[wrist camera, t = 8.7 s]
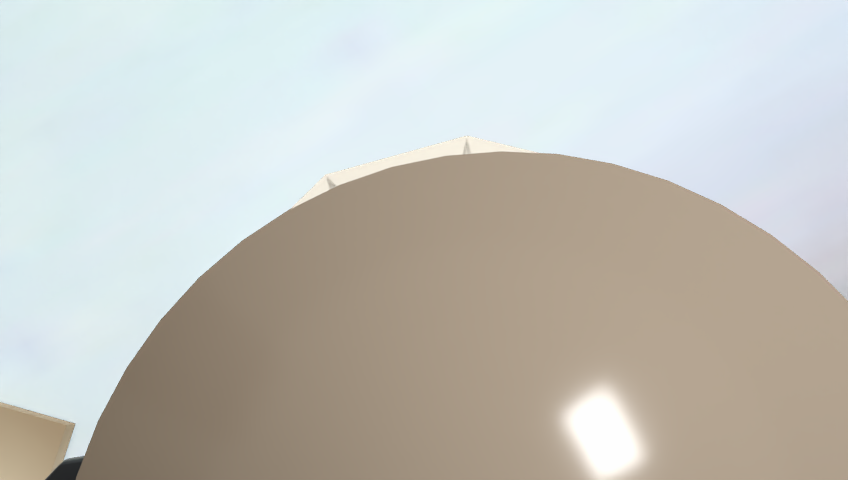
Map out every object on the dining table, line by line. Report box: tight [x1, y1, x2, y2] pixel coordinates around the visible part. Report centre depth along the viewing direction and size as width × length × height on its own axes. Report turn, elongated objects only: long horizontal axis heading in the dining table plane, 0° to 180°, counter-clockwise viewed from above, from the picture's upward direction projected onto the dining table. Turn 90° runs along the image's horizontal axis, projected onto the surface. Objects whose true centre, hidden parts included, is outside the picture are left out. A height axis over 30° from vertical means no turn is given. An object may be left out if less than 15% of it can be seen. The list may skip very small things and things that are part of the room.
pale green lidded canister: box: [76, 151, 848, 480], centre depth 10 cm, size 5×5×12 cm
